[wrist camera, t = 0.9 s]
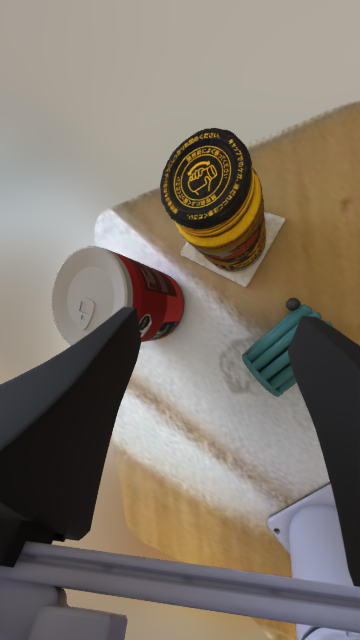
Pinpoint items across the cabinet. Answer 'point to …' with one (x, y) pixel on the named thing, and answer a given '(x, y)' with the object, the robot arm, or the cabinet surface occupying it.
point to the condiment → (218, 204)
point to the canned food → (112, 294)
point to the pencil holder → (277, 351)
